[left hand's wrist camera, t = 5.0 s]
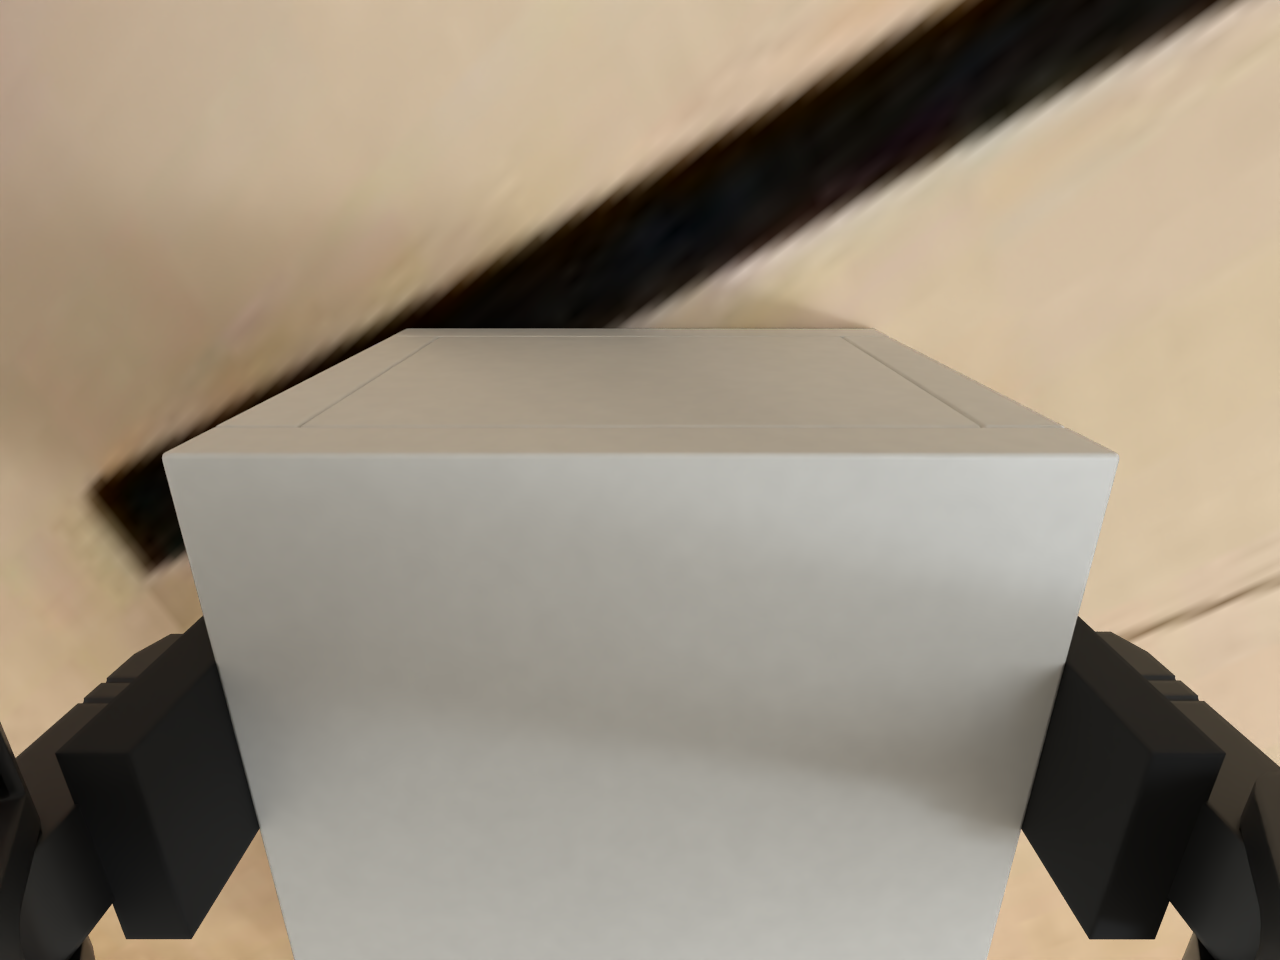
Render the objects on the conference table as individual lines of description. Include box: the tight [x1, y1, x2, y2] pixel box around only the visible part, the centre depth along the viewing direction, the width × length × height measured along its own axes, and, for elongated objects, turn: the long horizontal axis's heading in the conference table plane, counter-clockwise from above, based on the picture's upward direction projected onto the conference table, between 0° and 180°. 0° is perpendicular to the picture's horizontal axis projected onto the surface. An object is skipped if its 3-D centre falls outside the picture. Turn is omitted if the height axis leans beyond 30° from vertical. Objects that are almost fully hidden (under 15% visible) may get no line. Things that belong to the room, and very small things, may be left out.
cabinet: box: [162, 328, 1119, 960], centre depth 15 cm, size 20×10×8 cm, turn 0°
